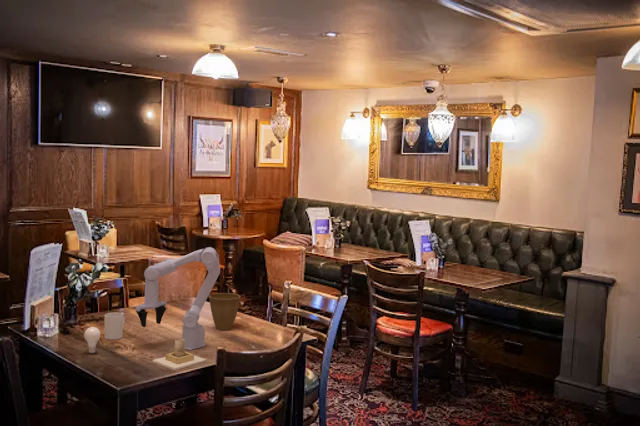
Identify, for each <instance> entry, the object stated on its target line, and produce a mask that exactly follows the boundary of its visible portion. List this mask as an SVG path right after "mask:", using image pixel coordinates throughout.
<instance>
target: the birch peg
mask: <svg viewBox="0 0 640 426" xmlns="http://www.w3.org/2000/svg"><path fill="white" fill-rule="evenodd" d="M174 352H175V357H178V358H180V357H183V356H185V352H186V349H185V340H184V339H182V338H177V339H175V340H174Z"/></svg>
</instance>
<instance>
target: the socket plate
mask: <svg viewBox="0 0 640 426" xmlns="http://www.w3.org/2000/svg"><path fill="white" fill-rule="evenodd" d="M207 360H208V359H206V358H204V357H200V356H198V355H195V354H193V353H191V352H187V351H185V356H183V357H180V358H178V357H175V351H174V352H170V353H169V352H168V353H166V354H165V356H164V357H159V358H156V359H153V360H152V363H154V364H157V365H159V366H162V367H165V368H167V369H169V370H173V371H177V370H181V369H184V368H188V367H192V366H196V365H199V364H203V363H206V362H208V361H207Z"/></svg>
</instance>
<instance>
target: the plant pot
mask: <svg viewBox="0 0 640 426" xmlns="http://www.w3.org/2000/svg"><path fill="white" fill-rule="evenodd" d="M208 298H209V305H210V311H211V315H212V316H211V317H212V320H213V322H214V323H213V324H214V326H215V328H216V330H218V331H229V329H230V330H231V329H232V328H233V326H234V323H235V321H236V317H237V314H238V310H239V306H240V301H241V295H239V294H237V293H231V292H230V293H229V292H220V293H219V292H217V293H212V294H209V296H208Z"/></svg>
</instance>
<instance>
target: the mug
mask: <svg viewBox="0 0 640 426" xmlns="http://www.w3.org/2000/svg"><path fill="white" fill-rule="evenodd" d="M125 320H126V314H125V313H124V312H116V311H115V312H108V313H105V314H104V327H103V328H104V332H103V334H104V339H105V340H111V341H112V340H114V341H115V340H120V339H123V337H124V323H125Z"/></svg>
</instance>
